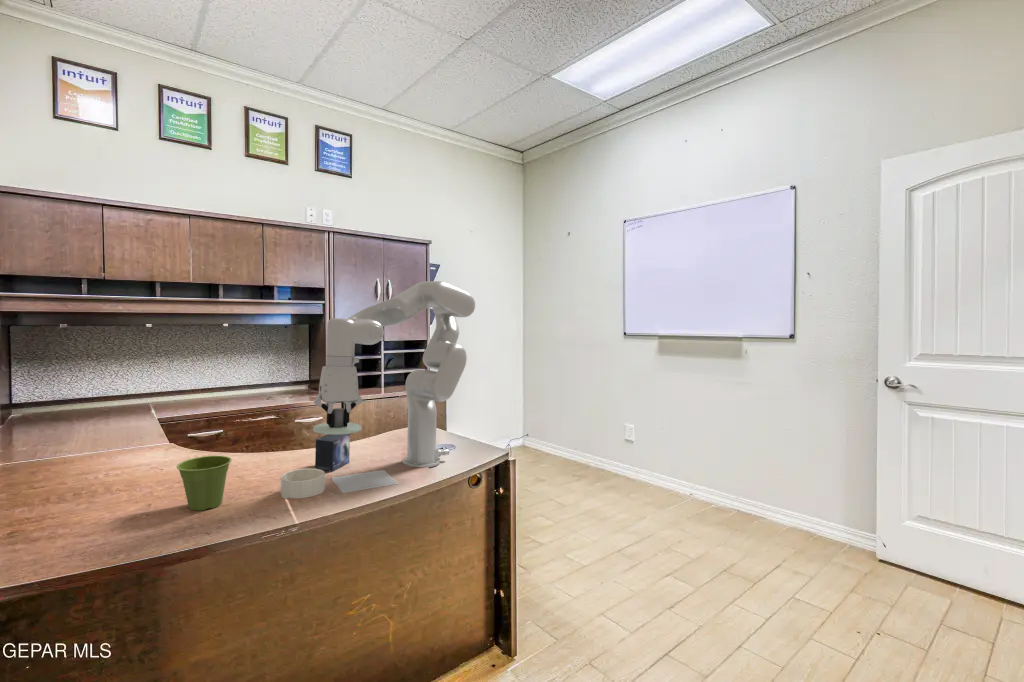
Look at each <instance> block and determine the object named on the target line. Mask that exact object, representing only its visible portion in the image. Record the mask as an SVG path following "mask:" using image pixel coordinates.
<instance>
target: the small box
mask: <svg viewBox="0 0 1024 682" xmlns="http://www.w3.org/2000/svg"><path fill="white" fill-rule="evenodd" d="M350 445H351V434H341V435H328V434H324V435H323V436H320V437H318V438H316V439H315V452H314V453H315V457H314V458H315V461H314V469H319V470H323V471H324V473H326V472H327V473H333V472H335V471H337V470H339V469H341V468H343V467H344V466H346V465H348V464H349V463H350V449H351V448H350Z"/></svg>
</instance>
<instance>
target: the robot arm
mask: <svg viewBox="0 0 1024 682" xmlns="http://www.w3.org/2000/svg"><path fill="white" fill-rule="evenodd" d="M429 308H432V312H433V313H434V317H435V318H434V319H435V323H436V324H435V329H434V332H433V334H432V335H431V338H430V339H429V342H428V343H427V346H426V348H425V350H424V352H423V355H422V362H423V364H424V366H425V367H427V368H428V369H415V370H413V371H411V372H410V373H409V374H408V375H407V377H406V379H405V393H406V398H407V442H406V443H407V447H406V448H407V450H406V451H407V452H406V456H405V457H404V458H402V460H401V461H402V462H401V463H402V464H403V465H404V466H406V467H410V468H411V467H412V468H433V467H436V466H438V465H440V464H441V458H440V457H442V456H448V455H450V451H449V449H448V448H447V449H443V448H437V419H438V416H437V415H438V411H437V405H436V402H440V403H441V402H442V403H443V402H445V401H447V400H449V399H450V398H451V397H452V396H453V394H454V392H455V390H456V388H457V385H458V384H459V381H460V379H461V377H462V376H463V373H464V370H465V368H466V365H467V361H468V359H467V358H468V357H467V352H466V350H465V348H464V347H463V346H462V345H461V344H458V343H457V342H458V340H459V335H460V329H459V325H458V321H457V319H456V318H468V317H470V316H471V315H472V314H473V313H474V312H475V309H476V301H475V299H474V297H473V295H472V294H470V293H469V292H468V291H465V290H463V289H461V288H460V287H459V288H458V287H456V286H454V285H452V284H450V283H447V282H445V281H440V280H439V281H438V280H435V281H434V280H433V281H432V280H431V281H430V280H429V281H420V282H418V283H416V284H414V285H412V286H410V287H409V288H406V289H405V290H404V291H402V292H401V293H398V294H397V295H395V296H393V297H392V298H390V299H386V300H384V301H381V302H378V303H376V304H374V305H371V306H369V307H365V308H363V309H362V310H360V311H357V312H356V313H354V314H353V315H351V316H350V317H348V318H335V317H334V318H330V319H329V320H328V321H327V326H326V327H327V328H326V350H325V351H326V355H325V356H326V357H325V365H324V366H322V367H321V373H320V378H319V385H318V394H317V396H316V397H315V399H314V401H313V404H314V405H316V406H317V407H320V408H322V409H323V411H325V412H326V423H327V424H328V426H329V427H330V428H333V427H334V414H333V409H334V408H333V407H334V403H343V409H344V426H345V427H347V423H349V422H350V413H351V412H352V410H354V408H355V407H356V406H358V405H360V404H361V403H363V398H362V396H361V395H360V393H359V379H358V378H359V377H358V371H357V366H355V364H357V363H358V364H359V363H360V358H359V357H356V356H355V349H356V348H355V347H356V346H355V345H356V344H358V345H359V344H360V345H364V346H365V345H366V346H368V345H369V346H372V345H375V344H378V343H379V342H381V340H382V339H383V337H384V335H385V330H384V327H387V326H388V327H389V326H394V325H399V324H403V323H406V322H408V321H409V320H411V319H412V318H414V317H415V316H417V315H418V314H420V313H422V312H423V311H425V310H426V309H429ZM429 369H433V370H429ZM434 370H437V371H434ZM325 403H326V404H325Z"/></svg>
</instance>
